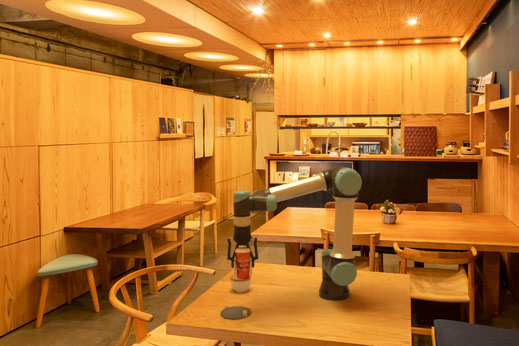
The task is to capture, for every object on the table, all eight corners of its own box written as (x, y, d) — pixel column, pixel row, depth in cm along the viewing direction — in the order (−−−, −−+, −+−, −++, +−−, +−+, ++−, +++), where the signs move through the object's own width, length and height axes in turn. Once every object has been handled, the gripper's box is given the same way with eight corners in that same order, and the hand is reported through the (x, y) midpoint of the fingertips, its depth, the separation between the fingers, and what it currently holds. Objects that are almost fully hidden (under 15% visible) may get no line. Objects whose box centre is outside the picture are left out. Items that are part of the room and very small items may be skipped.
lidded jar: (252, 287, 269) (251, 270, 268) (250, 294, 258) (249, 276, 257) (232, 287, 270) (231, 270, 269) (229, 294, 259) (228, 276, 258)
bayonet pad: (251, 307, 240) (251, 301, 240) (250, 319, 226) (250, 312, 226) (221, 308, 240) (221, 302, 240) (219, 320, 226) (218, 314, 226)
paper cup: (236, 280, 228) (236, 250, 226) (233, 275, 235) (232, 246, 234) (253, 279, 230) (253, 249, 228) (249, 274, 237) (249, 244, 236)
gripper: (263, 222, 233) (264, 271, 236) (221, 223, 234) (222, 272, 236) (263, 226, 226) (264, 276, 228) (219, 226, 226) (220, 277, 229)
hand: (243, 274), depth 232 cm, fingers closed on paper cup, 7 cm apart
